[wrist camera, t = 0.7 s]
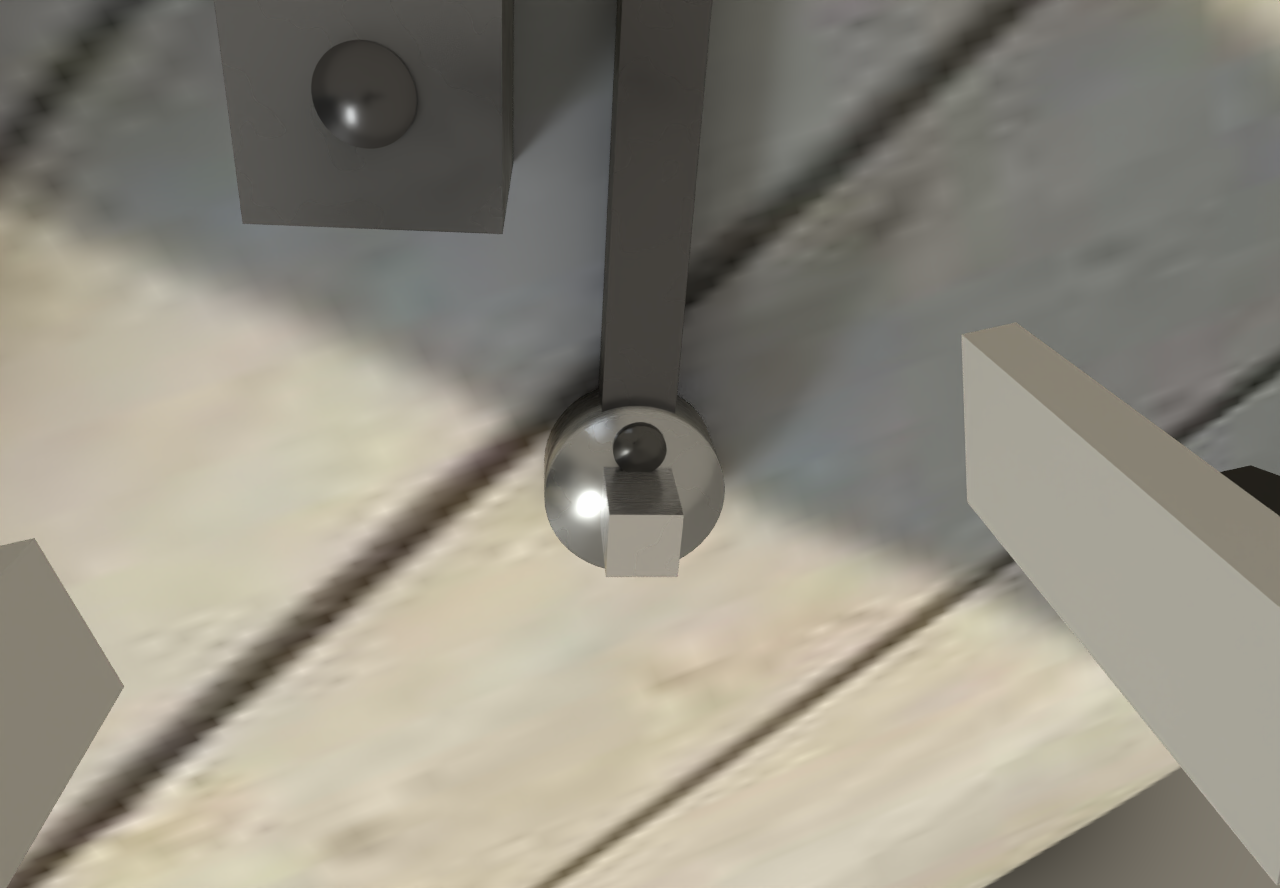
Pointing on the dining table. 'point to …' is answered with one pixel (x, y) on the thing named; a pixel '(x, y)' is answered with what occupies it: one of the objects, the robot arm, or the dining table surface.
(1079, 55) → the dining table surface
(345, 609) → the dining table surface
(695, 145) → the ratchet
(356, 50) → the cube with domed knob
